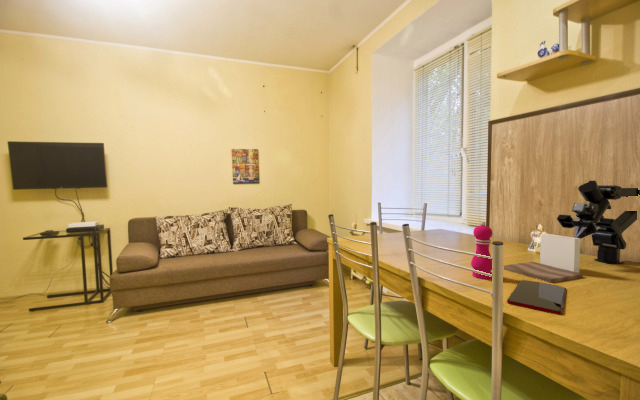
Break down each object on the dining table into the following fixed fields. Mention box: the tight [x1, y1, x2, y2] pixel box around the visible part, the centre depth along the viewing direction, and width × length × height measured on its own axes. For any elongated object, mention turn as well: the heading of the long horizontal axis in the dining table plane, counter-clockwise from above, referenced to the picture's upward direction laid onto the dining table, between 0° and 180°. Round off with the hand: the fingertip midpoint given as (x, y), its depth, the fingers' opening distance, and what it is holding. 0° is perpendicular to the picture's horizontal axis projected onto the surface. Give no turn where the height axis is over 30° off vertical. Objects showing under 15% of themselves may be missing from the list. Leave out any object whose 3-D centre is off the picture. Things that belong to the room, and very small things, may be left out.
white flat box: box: [539, 233, 581, 273], centre depth 114 cm, size 3×12×13 cm, turn 19°
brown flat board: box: [503, 261, 584, 284], centre depth 111 cm, size 16×18×1 cm
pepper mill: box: [470, 220, 493, 280], centre depth 107 cm, size 7×7×20 cm
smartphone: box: [506, 279, 567, 316], centre depth 89 cm, size 12×2×25 cm
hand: (575, 239), depth 116 cm, fingers closed
